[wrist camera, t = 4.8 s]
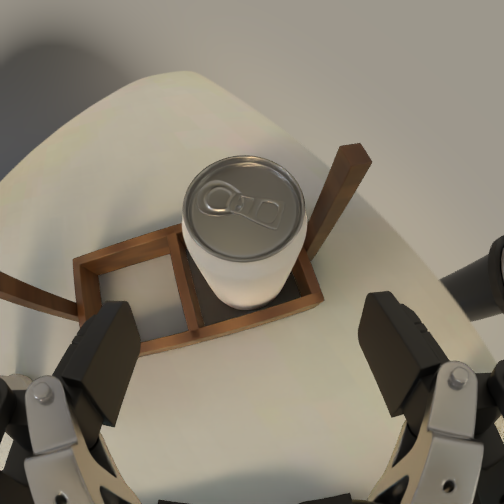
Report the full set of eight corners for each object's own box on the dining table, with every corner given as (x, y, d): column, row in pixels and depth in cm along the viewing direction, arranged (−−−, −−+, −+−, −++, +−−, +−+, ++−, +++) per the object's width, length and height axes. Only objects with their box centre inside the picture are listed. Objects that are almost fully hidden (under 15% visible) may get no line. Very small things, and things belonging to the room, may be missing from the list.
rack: (292, 211, 26) (323, 91, 13) (327, 302, 23) (415, 241, 10) (81, 273, 23) (-18, 209, 10) (95, 365, 21) (-24, 359, 7)
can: (224, 229, 25) (206, 137, 14) (293, 251, 24) (326, 169, 13) (198, 296, 23) (150, 244, 12) (271, 321, 22) (293, 292, 11)
